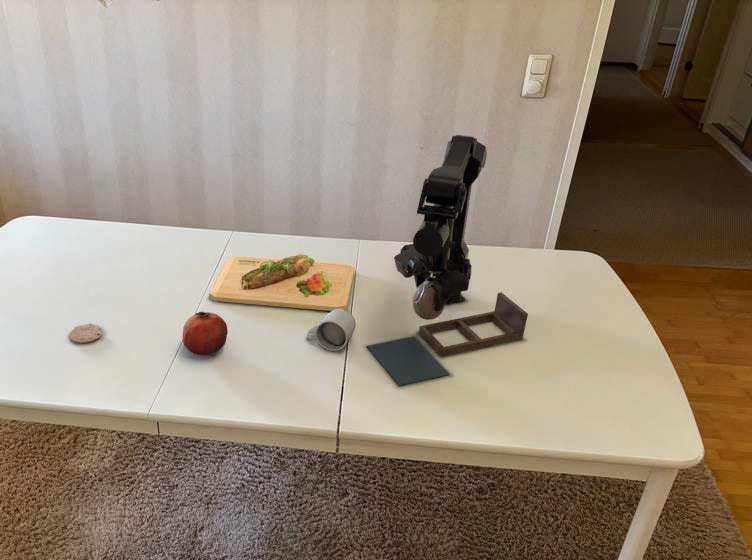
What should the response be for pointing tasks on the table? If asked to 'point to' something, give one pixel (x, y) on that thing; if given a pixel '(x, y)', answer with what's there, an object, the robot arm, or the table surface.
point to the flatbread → (85, 333)
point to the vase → (426, 301)
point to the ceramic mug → (334, 330)
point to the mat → (407, 361)
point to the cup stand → (504, 317)
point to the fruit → (204, 333)
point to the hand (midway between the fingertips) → (428, 303)
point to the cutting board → (284, 282)
